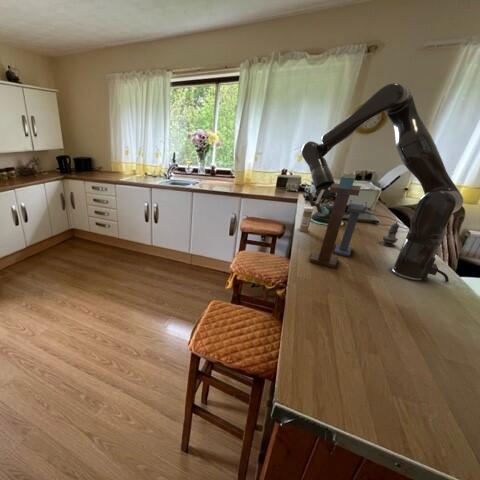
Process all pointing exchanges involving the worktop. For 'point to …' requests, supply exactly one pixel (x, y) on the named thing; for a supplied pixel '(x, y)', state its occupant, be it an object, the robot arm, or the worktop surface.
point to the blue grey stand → (350, 228)
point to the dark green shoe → (323, 215)
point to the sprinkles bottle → (306, 219)
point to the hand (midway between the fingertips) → (332, 209)
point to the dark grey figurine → (391, 236)
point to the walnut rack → (334, 225)
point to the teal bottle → (347, 181)
